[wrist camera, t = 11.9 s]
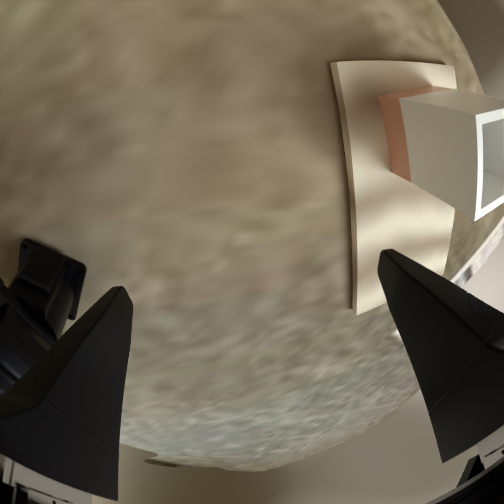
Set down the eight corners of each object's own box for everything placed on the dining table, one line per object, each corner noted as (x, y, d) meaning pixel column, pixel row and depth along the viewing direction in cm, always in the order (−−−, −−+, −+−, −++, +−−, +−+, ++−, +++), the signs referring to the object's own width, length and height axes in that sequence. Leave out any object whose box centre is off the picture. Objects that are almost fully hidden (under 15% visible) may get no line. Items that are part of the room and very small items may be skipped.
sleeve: (441, 153, 20) (518, 191, 12) (391, 172, 20) (474, 221, 13) (432, 85, 16) (520, 105, 9) (377, 95, 17) (475, 115, 9)
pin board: (438, 270, 30) (457, 289, 26) (352, 309, 29) (369, 335, 26) (446, 65, 16) (478, 69, 13) (329, 62, 16) (360, 58, 12)
